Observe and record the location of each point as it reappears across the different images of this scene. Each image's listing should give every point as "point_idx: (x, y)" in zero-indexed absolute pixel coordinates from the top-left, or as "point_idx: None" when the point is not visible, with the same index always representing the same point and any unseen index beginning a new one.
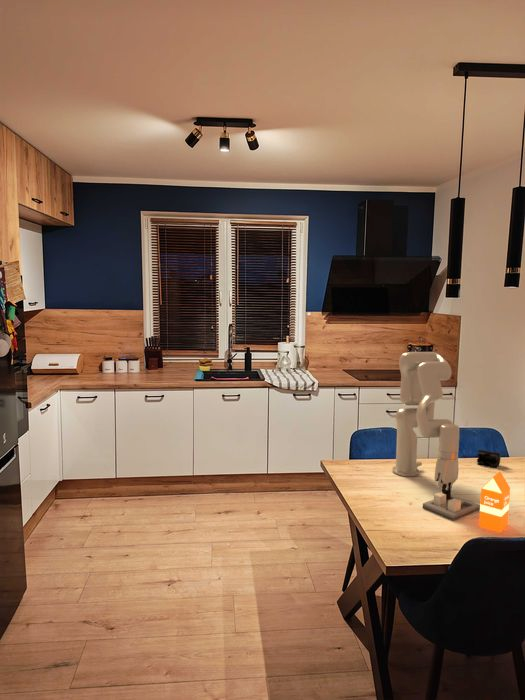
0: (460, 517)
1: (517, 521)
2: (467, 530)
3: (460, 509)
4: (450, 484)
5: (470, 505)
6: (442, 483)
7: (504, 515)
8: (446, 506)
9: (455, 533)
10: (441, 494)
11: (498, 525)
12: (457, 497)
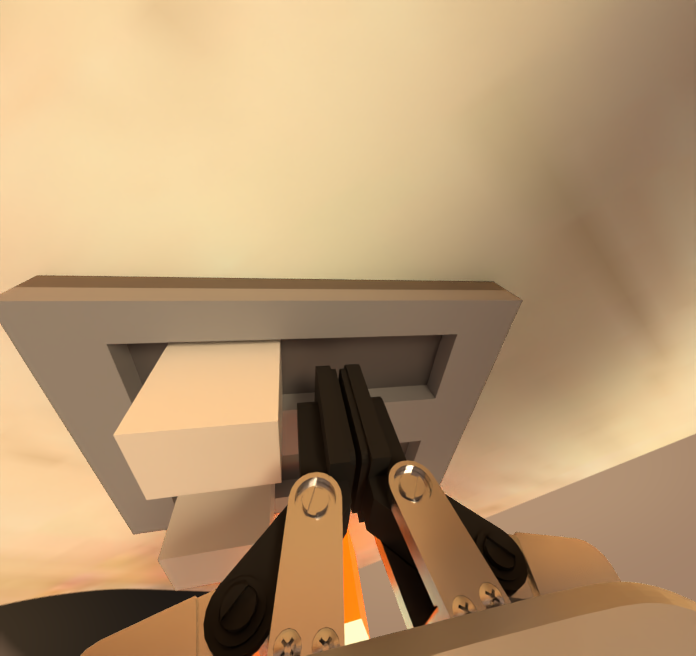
0: None
1: None
2: (136, 558)
3: (274, 494)
4: (398, 602)
5: (407, 459)
6: (297, 613)
7: None
8: None
9: (33, 568)
10: (227, 467)
11: None
12: (468, 380)
